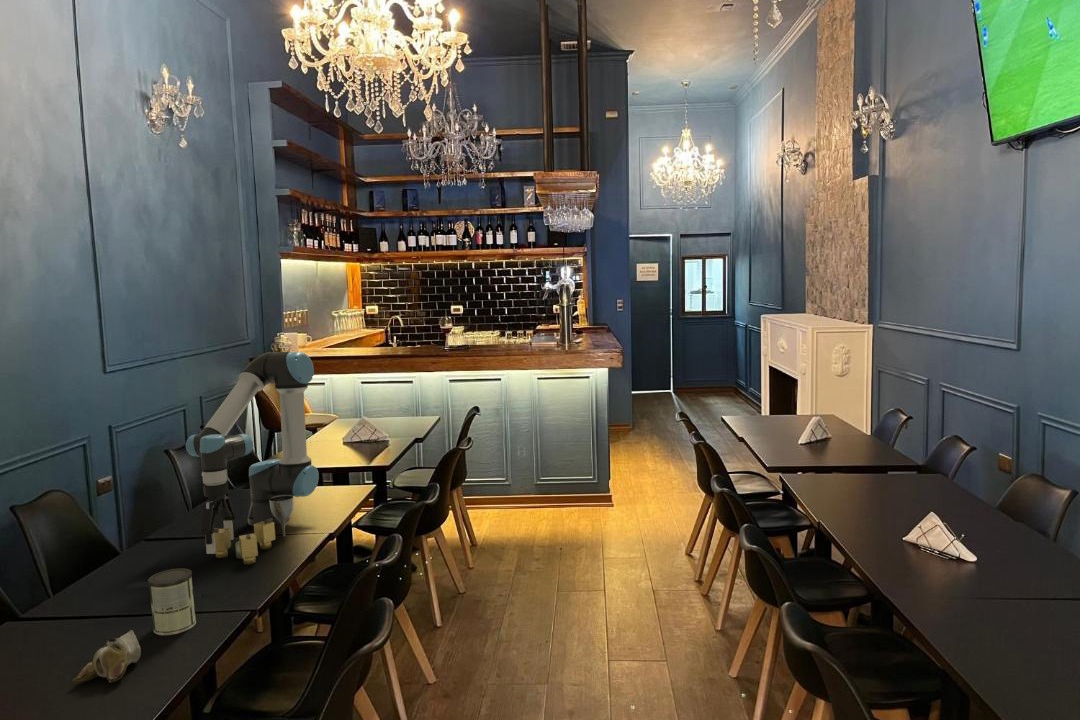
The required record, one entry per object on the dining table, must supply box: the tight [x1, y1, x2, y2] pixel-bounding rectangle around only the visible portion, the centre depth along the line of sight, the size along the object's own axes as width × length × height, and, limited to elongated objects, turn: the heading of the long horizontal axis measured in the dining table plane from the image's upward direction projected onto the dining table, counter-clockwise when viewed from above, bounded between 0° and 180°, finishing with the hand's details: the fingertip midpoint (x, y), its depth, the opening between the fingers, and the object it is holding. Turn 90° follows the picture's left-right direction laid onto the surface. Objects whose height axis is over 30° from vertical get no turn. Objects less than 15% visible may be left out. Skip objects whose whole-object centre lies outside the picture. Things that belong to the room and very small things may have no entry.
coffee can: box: [147, 567, 197, 636], centre depth 203 cm, size 10×10×14 cm
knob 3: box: [253, 518, 276, 550], centre depth 260 cm, size 6×5×9 cm
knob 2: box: [238, 533, 259, 565], centre depth 246 cm, size 6×5×9 cm
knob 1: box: [213, 527, 232, 559], centre depth 253 cm, size 6×5×9 cm
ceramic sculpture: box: [71, 629, 142, 683], centre depth 179 cm, size 11×9×15 cm
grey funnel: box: [269, 495, 295, 537], centre depth 272 cm, size 8×8×15 cm
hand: (220, 546), depth 253 cm, fingers open, 13 cm apart
